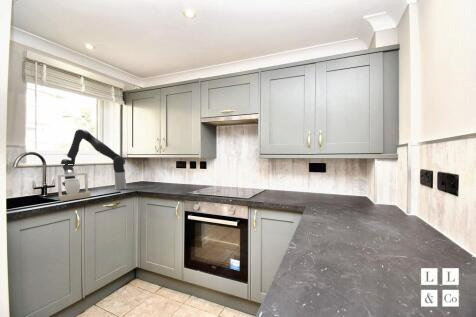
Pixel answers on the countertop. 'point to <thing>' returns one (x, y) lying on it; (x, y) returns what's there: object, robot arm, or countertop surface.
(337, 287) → the countertop surface
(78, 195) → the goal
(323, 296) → the countertop surface
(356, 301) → the countertop surface
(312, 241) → the countertop surface
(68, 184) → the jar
